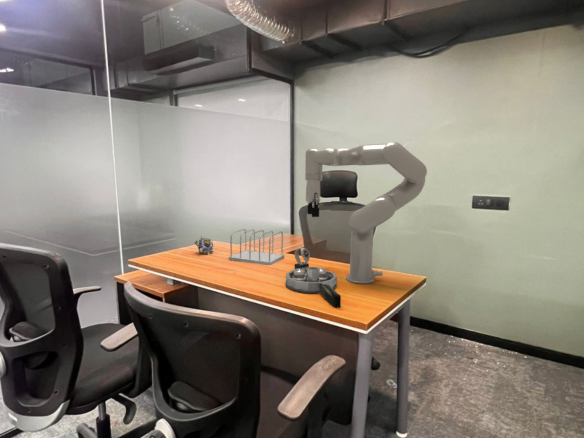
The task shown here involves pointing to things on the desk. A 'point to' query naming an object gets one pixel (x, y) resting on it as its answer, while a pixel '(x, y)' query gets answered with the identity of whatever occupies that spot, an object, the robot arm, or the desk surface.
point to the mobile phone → (331, 295)
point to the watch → (305, 255)
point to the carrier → (300, 276)
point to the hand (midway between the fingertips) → (313, 215)
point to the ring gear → (310, 285)
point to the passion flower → (205, 245)
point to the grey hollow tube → (313, 274)
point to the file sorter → (254, 255)
